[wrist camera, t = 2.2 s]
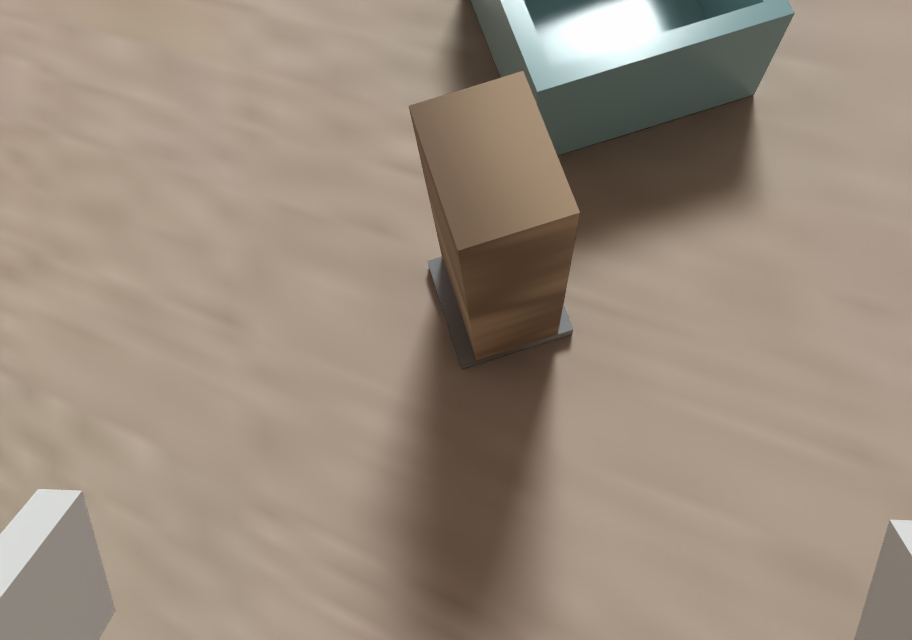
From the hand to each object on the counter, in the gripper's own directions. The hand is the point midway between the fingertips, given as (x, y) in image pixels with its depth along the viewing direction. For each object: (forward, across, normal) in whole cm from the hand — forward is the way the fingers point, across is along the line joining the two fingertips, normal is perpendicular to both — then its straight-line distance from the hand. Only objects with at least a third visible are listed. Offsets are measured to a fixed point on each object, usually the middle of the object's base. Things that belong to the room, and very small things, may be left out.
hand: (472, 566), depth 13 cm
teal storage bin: (+26, -4, -5) cm, 27 cm away
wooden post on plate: (+18, 0, +4) cm, 18 cm away
